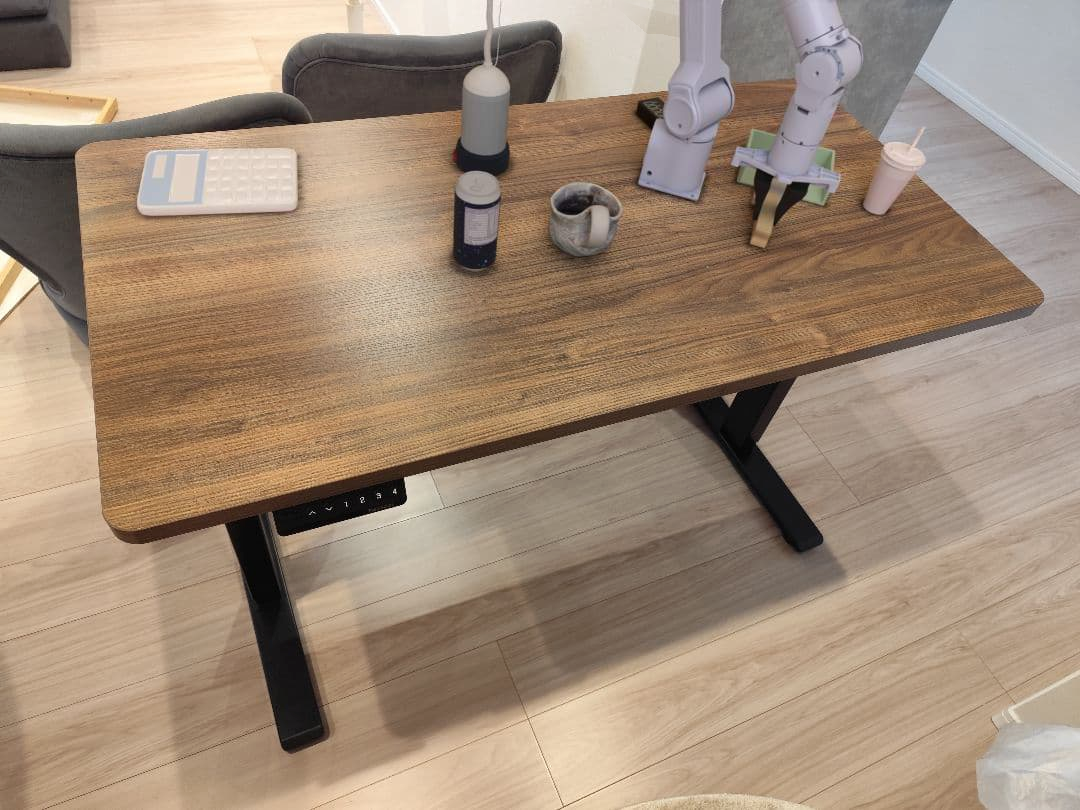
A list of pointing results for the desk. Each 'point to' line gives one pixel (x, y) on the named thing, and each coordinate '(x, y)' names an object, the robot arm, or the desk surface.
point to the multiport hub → (650, 110)
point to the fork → (767, 214)
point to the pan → (813, 195)
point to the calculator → (218, 181)
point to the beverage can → (476, 220)
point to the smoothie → (893, 174)
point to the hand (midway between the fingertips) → (764, 219)
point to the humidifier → (484, 114)
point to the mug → (583, 218)
